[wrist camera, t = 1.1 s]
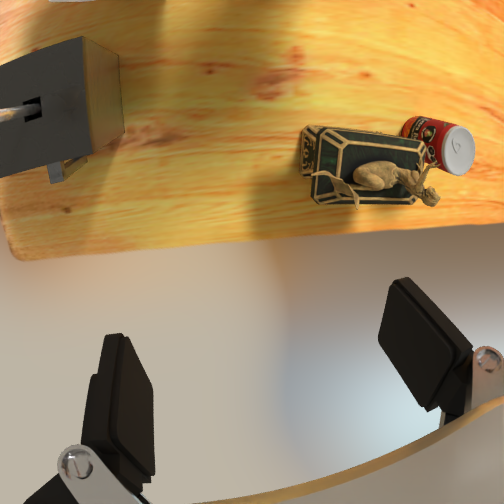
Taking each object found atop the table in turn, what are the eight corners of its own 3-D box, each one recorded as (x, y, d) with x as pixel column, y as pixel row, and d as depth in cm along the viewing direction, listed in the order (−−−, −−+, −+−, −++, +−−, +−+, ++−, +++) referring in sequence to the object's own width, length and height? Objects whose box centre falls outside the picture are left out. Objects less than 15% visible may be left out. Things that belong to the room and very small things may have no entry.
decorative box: (387, 128, 45) (478, 158, 28) (380, 183, 49) (460, 233, 32) (269, 116, 41) (330, 135, 24) (266, 181, 45) (318, 241, 28)
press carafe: (45, 75, 30) (-16, 73, 17) (118, 55, 32) (82, 36, 18) (56, 164, 37) (3, 202, 23) (127, 149, 39) (97, 180, 25)
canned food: (410, 107, 43) (455, 116, 34) (437, 129, 46) (481, 143, 37) (393, 145, 46) (436, 161, 37) (422, 164, 49) (464, 184, 40)
